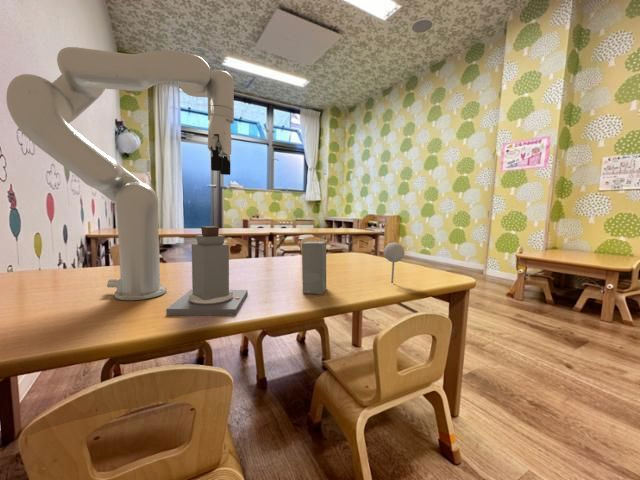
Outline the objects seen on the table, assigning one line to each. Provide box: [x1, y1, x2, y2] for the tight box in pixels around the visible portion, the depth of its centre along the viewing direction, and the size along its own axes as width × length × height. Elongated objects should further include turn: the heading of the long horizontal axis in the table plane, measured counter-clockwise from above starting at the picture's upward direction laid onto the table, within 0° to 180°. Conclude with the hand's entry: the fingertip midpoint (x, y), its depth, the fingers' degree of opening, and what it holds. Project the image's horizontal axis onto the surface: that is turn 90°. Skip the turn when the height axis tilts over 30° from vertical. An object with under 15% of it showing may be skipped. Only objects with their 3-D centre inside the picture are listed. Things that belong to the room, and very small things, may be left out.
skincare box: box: [301, 240, 327, 296], centre depth 89 cm, size 8×7×16 cm
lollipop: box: [383, 241, 405, 284], centre depth 101 cm, size 7×7×15 cm
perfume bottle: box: [191, 225, 230, 300], centre depth 74 cm, size 7×7×18 cm
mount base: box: [165, 289, 248, 316], centre depth 75 cm, size 16×16×2 cm
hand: (221, 172), depth 89 cm, fingers open, 9 cm apart
